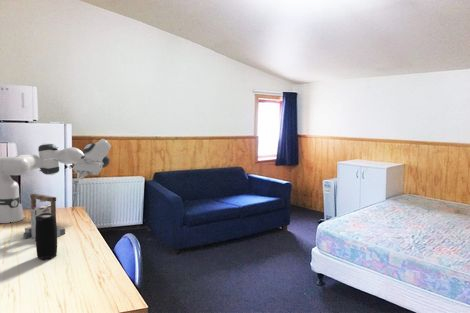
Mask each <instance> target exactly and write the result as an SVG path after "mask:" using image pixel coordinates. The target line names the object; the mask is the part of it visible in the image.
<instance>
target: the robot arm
mask: <svg viewBox="0 0 470 313" xmlns="http://www.w3.org/2000/svg"><path fill="white" fill-rule="evenodd" d="M111 147H112V145H111V143H110V142H109V141H108V140H106V139H104V138H101V139H100V140H99V141H97V142H89V143H87V144H85V146H84V147H83V149H82V150H80V148H77V147H74V146H72V147H67V148H66V147H65V148H63V149H61V150H60V149H59V147H57V146H56V145H55V144H54V143H50V142H46V143H42V144H41V145H39V146H38V148H37V149H38V155H36V154H31V153H30V154H29V153H27V154H19V155H15V156H0V224H9V223H10V222H11V223H17V222H20V221H23V220H24V218H26V215H25V214H24V211H23V204H21V196H20V186H19V183H18V182H17V181H16V180H14V179H13V178H12V176H22V175H26V174H28V173H29V172H30V171H33V170H36V169H39V172H41V173H42V174H44V175H47V176H53V175H56V174H58V173H59V172H60V165H59V163H60V164H65V165H69V164H73V165H74V166H73V167H72V170H73V172H75V173H78V176H77V178H78V179H80V180H83V179H84V178H85V177H86V176H88V175H93V176H97V175H99V173H101V171H102V169H104V168H106V167H108V165H109V164H110V156H109V155H108V154H109V152H110V150H111Z"/></svg>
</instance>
